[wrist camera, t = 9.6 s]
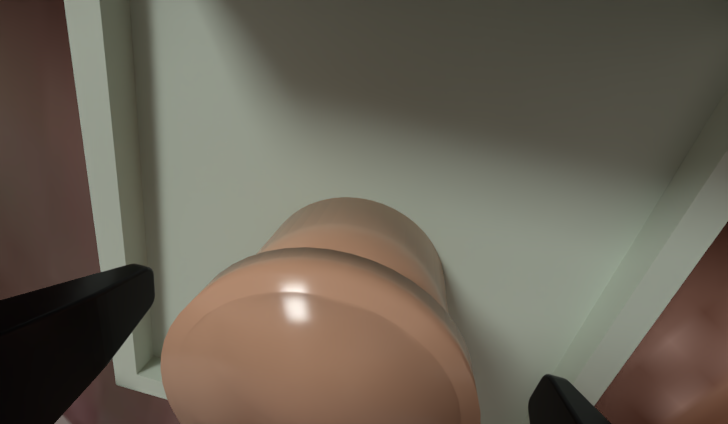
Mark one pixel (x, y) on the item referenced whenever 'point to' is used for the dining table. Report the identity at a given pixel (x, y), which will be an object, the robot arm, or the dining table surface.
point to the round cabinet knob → (324, 329)
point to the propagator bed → (418, 157)
